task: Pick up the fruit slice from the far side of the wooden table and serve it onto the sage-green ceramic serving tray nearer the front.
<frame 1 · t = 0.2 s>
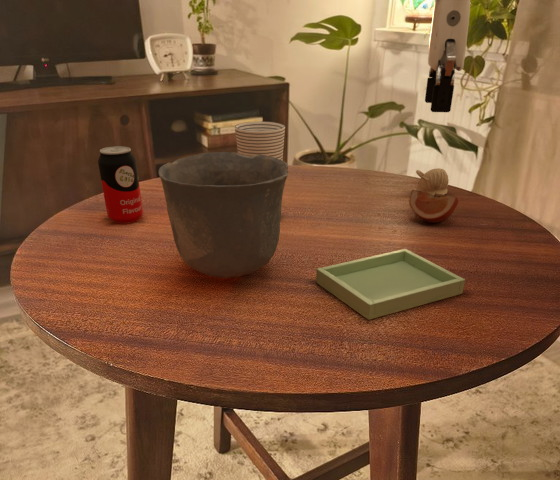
hand: (436, 107, 98), 17 cm above the table, tool pointing down, fingers open, 9 cm apart
cup: (261, 218, 103), on the table
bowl: (231, 274, 82), on the table
fruit slice: (430, 221, 101), on the table
beverage can: (126, 220, 102), on the table
serving tray: (387, 287, 78), on the table
decorative ornament: (429, 196, 114), on the table
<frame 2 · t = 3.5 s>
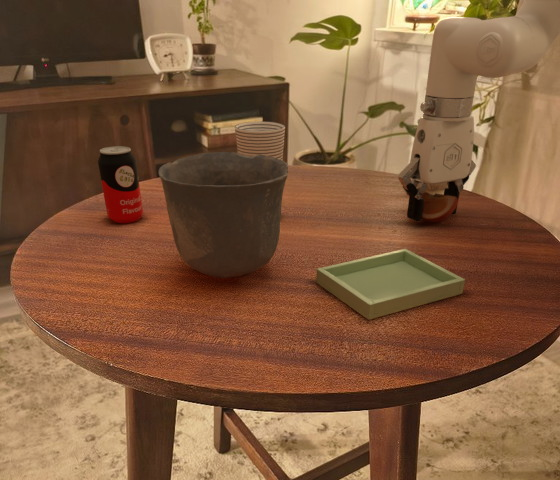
hand: (431, 215, 101), 1 cm above the table, tool pointing down, fingers closed on fruit slice, 7 cm apart
fruit slice: (430, 221, 101), on the table, touching gripper
everything else where it was.
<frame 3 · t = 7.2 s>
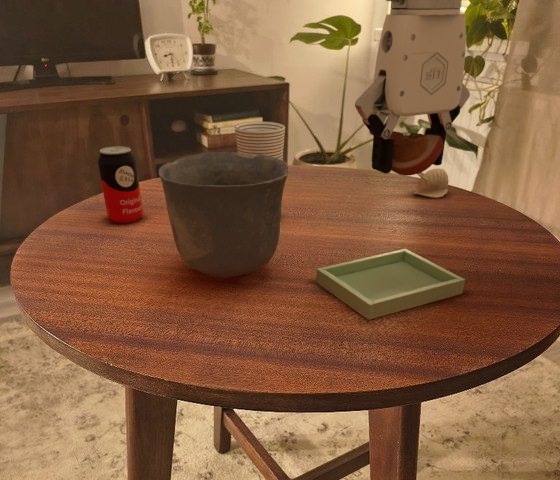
hand: (406, 165, 71), 16 cm above the table, tool pointing down, fingers closed on fruit slice, 7 cm apart
fruit slice: (405, 174, 72), point 15 cm above the table, touching gripper
everything else where it was.
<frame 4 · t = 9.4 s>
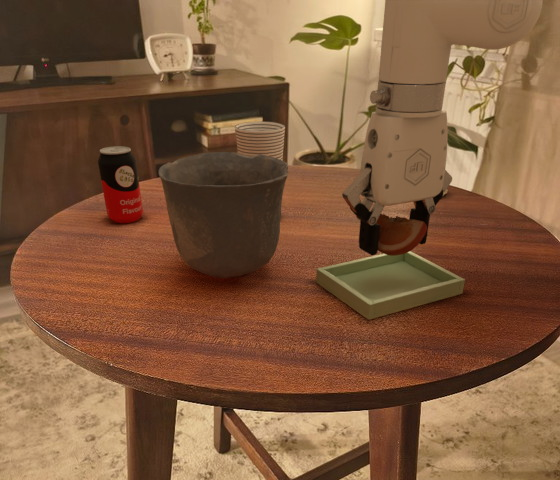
hand: (392, 245, 74), 6 cm above the table, tool pointing down, fingers closed on fruit slice, 7 cm apart
fruit slice: (391, 253, 75), point 5 cm above the table, touching gripper
everything else where it was.
when the fingers open (2 cm above the table, at t = 11.2 s): fruit slice stays where it is, resting on serving tray.
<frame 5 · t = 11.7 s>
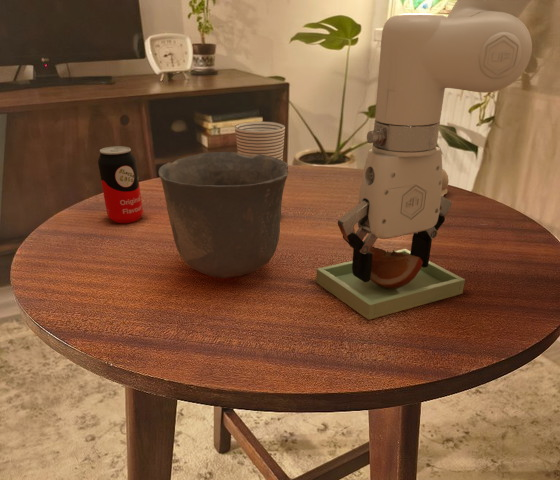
hand: (390, 271, 76), 3 cm above the table, tool pointing down, fingers open, 9 cm apart
fruit slice: (388, 285, 78), resting on serving tray
everything else where it was.
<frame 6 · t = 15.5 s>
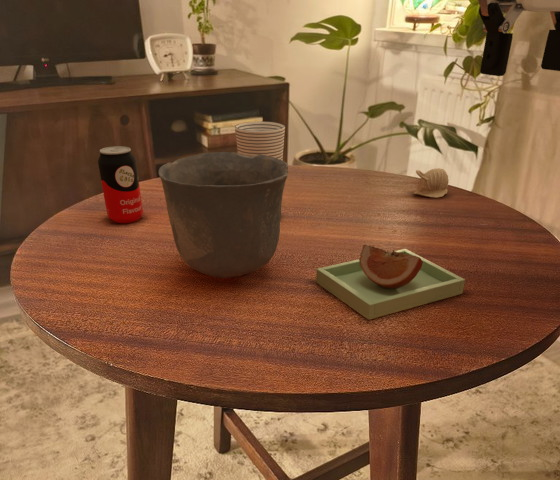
hand: (523, 72, 64), 26 cm above the table, tool pointing down, fingers open, 9 cm apart
nothing on the table moved.
at the end: fruit slice inside the target area in the serving tray (0.0 cm from its centre), point 0.4 cm above the serving tray's base; the gripper is holding nothing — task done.
